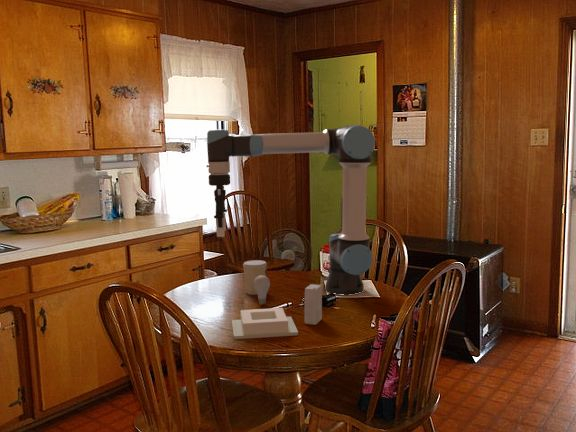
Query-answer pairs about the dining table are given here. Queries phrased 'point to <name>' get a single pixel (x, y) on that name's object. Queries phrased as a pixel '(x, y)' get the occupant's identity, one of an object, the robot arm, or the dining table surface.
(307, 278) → the dining table surface
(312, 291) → the skincare box
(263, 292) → the lightbulb
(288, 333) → the holder
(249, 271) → the coffee cup
